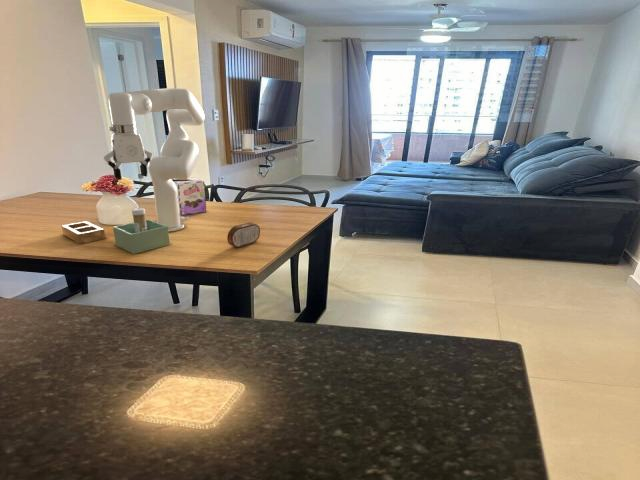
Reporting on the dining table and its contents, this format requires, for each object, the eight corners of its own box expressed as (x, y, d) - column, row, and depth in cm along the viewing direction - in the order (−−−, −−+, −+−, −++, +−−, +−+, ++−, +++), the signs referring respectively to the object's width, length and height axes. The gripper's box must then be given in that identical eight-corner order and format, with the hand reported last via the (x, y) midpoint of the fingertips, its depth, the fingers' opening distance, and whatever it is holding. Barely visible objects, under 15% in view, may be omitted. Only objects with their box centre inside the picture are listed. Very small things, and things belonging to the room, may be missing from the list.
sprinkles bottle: (150, 243, 148) (145, 209, 144) (137, 245, 146) (132, 211, 142) (147, 239, 152) (143, 207, 148) (135, 241, 150) (130, 208, 145)
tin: (256, 239, 159) (255, 220, 156) (261, 241, 157) (261, 221, 154) (227, 248, 148) (226, 227, 145) (232, 250, 146) (231, 229, 143)
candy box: (180, 216, 191) (177, 183, 185) (176, 213, 195) (173, 181, 190) (206, 212, 199) (204, 180, 194) (202, 209, 203) (199, 179, 198)
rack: (87, 229, 166) (86, 221, 164) (105, 238, 155) (104, 229, 154) (63, 234, 159) (61, 225, 157) (80, 244, 148) (78, 234, 147)
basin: (151, 236, 159) (148, 219, 157) (169, 244, 150) (167, 226, 148) (115, 245, 148) (112, 226, 146) (133, 253, 140) (131, 234, 137)
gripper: (104, 131, 127) (112, 182, 133) (153, 129, 140) (158, 176, 146) (94, 130, 132) (103, 179, 137) (142, 128, 145) (148, 173, 150)
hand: (131, 177), depth 142 cm, fingers open, 9 cm apart
